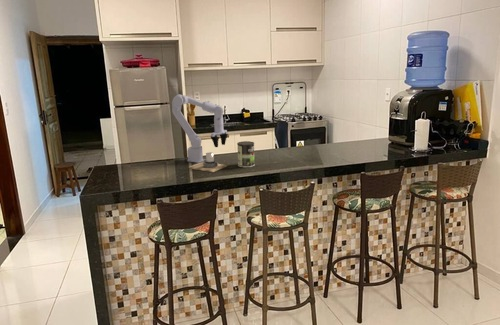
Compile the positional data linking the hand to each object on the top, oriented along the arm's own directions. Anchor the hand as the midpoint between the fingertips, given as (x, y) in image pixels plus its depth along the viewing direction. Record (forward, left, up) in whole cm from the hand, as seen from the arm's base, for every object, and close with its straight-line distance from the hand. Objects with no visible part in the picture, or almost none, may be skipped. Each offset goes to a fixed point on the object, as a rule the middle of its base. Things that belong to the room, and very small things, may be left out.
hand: (219, 145), depth 237 cm
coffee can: (+22, -3, -10) cm, 24 cm away
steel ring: (+6, -18, -9) cm, 21 cm away
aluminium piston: (+6, -18, -8) cm, 21 cm away
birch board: (+4, -18, -9) cm, 21 cm away
